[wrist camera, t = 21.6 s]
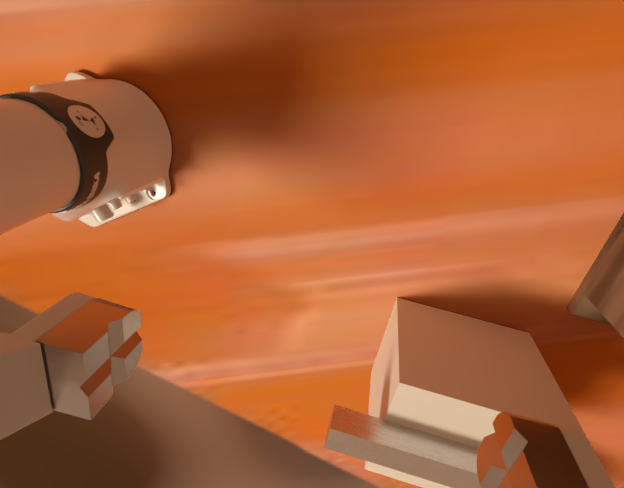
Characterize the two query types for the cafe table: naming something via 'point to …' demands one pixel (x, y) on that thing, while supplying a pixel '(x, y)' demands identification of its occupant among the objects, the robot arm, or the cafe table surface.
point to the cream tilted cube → (458, 378)
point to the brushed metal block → (402, 448)
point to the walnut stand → (604, 285)
